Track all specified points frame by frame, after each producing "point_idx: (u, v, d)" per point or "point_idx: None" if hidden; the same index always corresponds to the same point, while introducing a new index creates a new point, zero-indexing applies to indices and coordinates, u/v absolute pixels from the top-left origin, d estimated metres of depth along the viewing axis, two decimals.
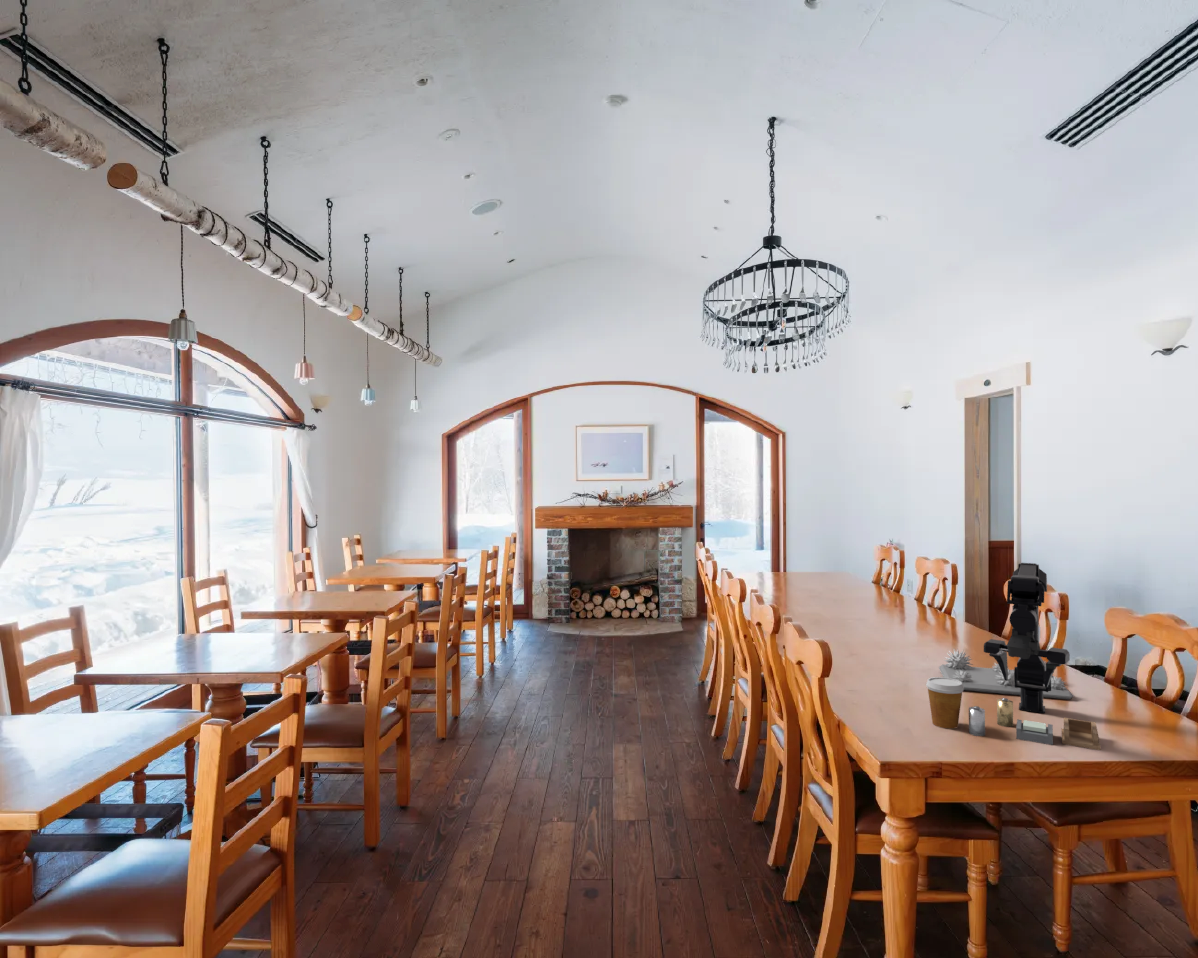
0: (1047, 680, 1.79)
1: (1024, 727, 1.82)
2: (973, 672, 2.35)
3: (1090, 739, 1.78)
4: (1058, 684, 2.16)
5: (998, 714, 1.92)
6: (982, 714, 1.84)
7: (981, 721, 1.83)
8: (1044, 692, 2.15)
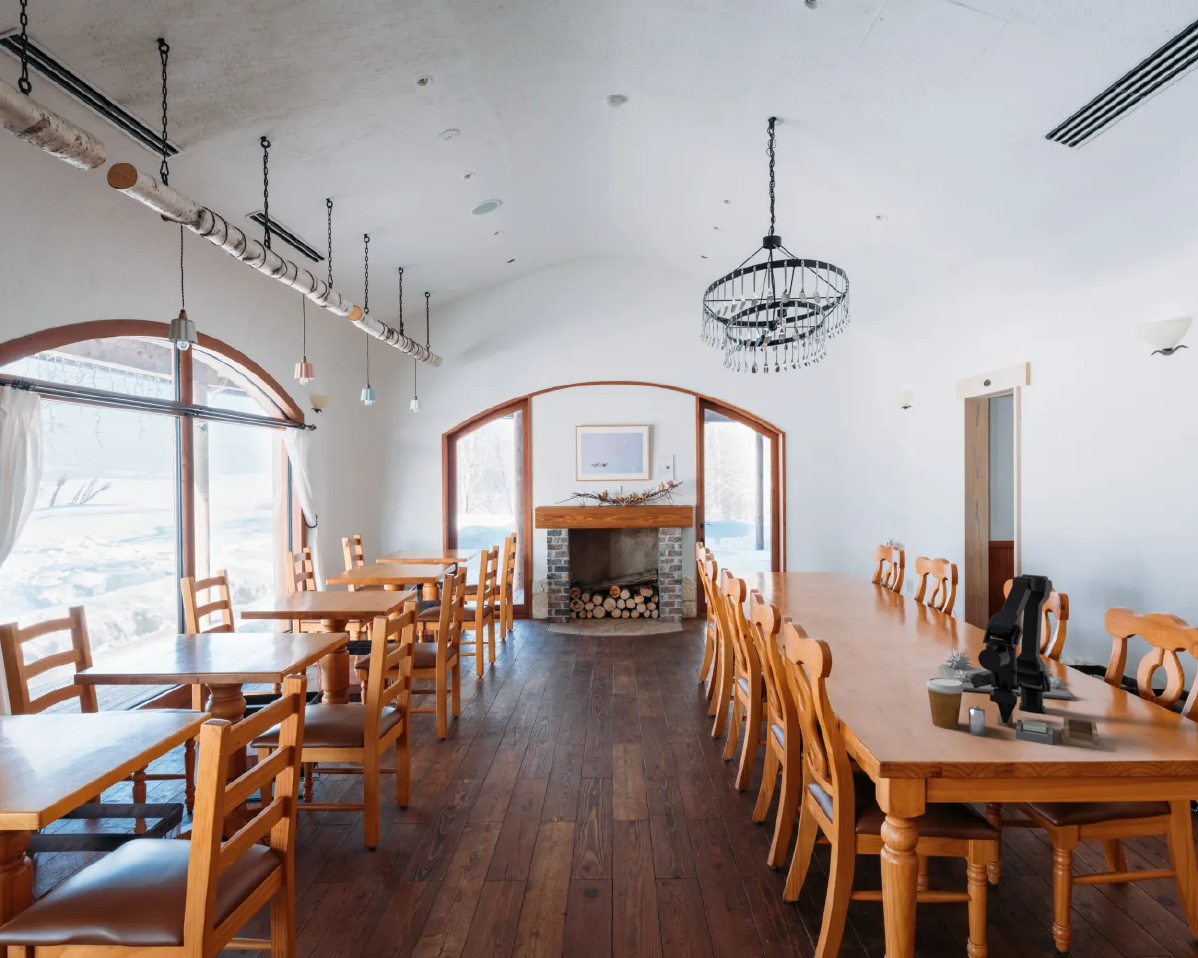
0: None
1: (1024, 727, 1.82)
2: (973, 672, 2.35)
3: (1090, 739, 1.78)
4: (1058, 684, 2.16)
5: (998, 714, 1.92)
6: (982, 714, 1.84)
7: (981, 721, 1.83)
8: None
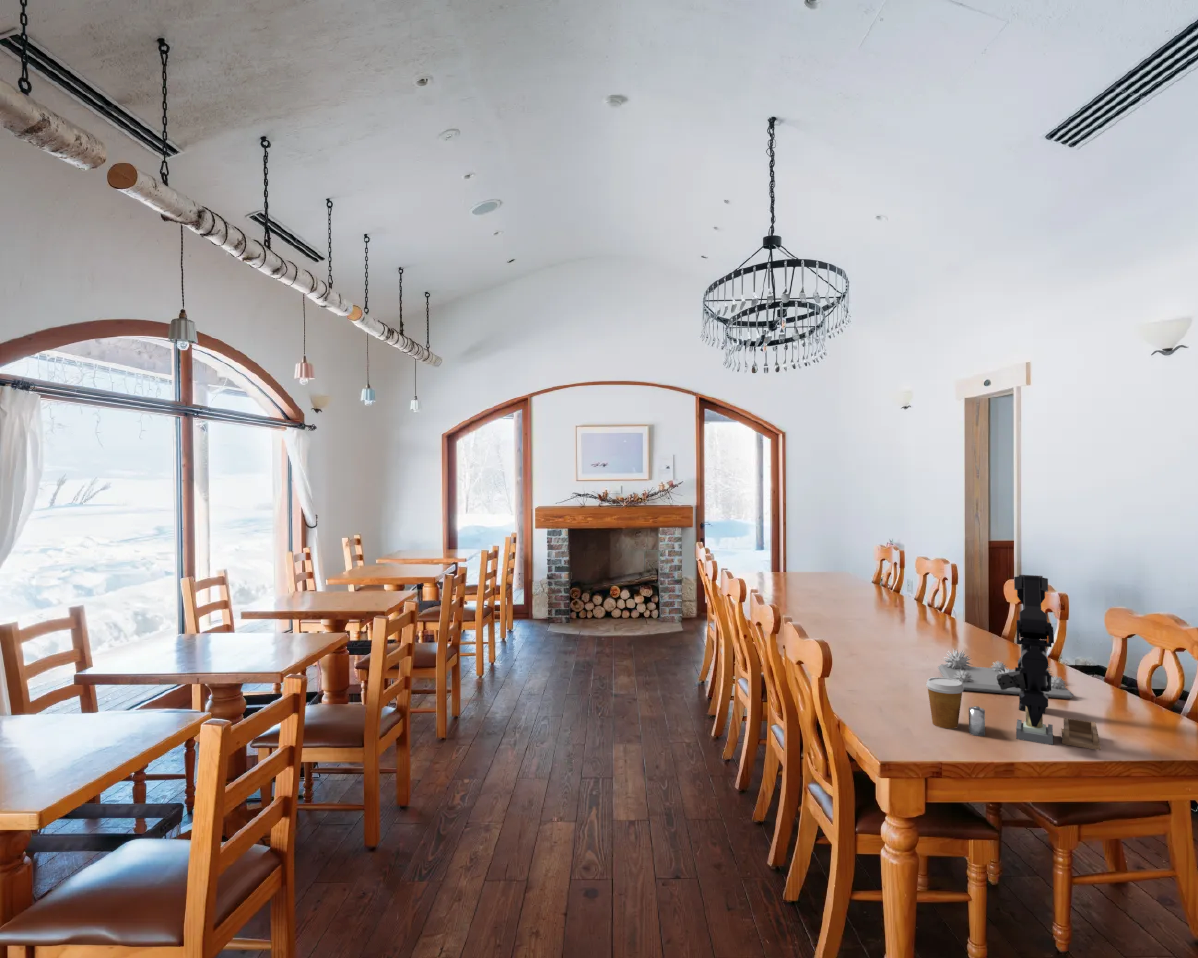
0: (1030, 718, 1.81)
1: (1024, 728, 1.82)
2: (973, 672, 2.36)
3: (1090, 739, 1.78)
4: (1058, 683, 2.16)
5: (1027, 715, 1.82)
6: (982, 714, 1.84)
7: (981, 721, 1.83)
8: (1044, 692, 2.15)
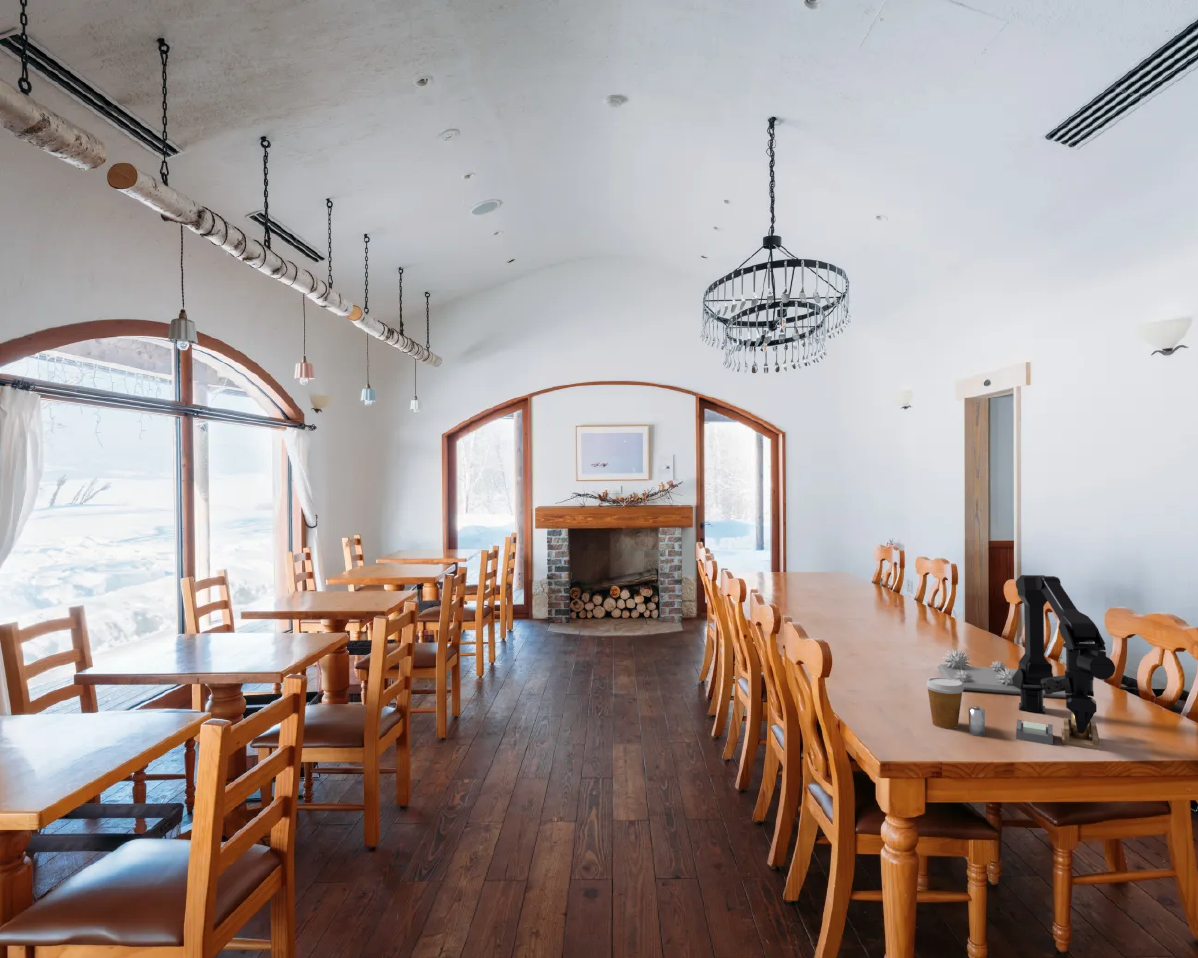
0: (1076, 725, 1.77)
1: (1024, 728, 1.82)
2: (972, 672, 2.36)
3: (1090, 739, 1.78)
4: None
5: (1073, 726, 1.79)
6: (982, 714, 1.84)
7: (981, 721, 1.83)
8: None
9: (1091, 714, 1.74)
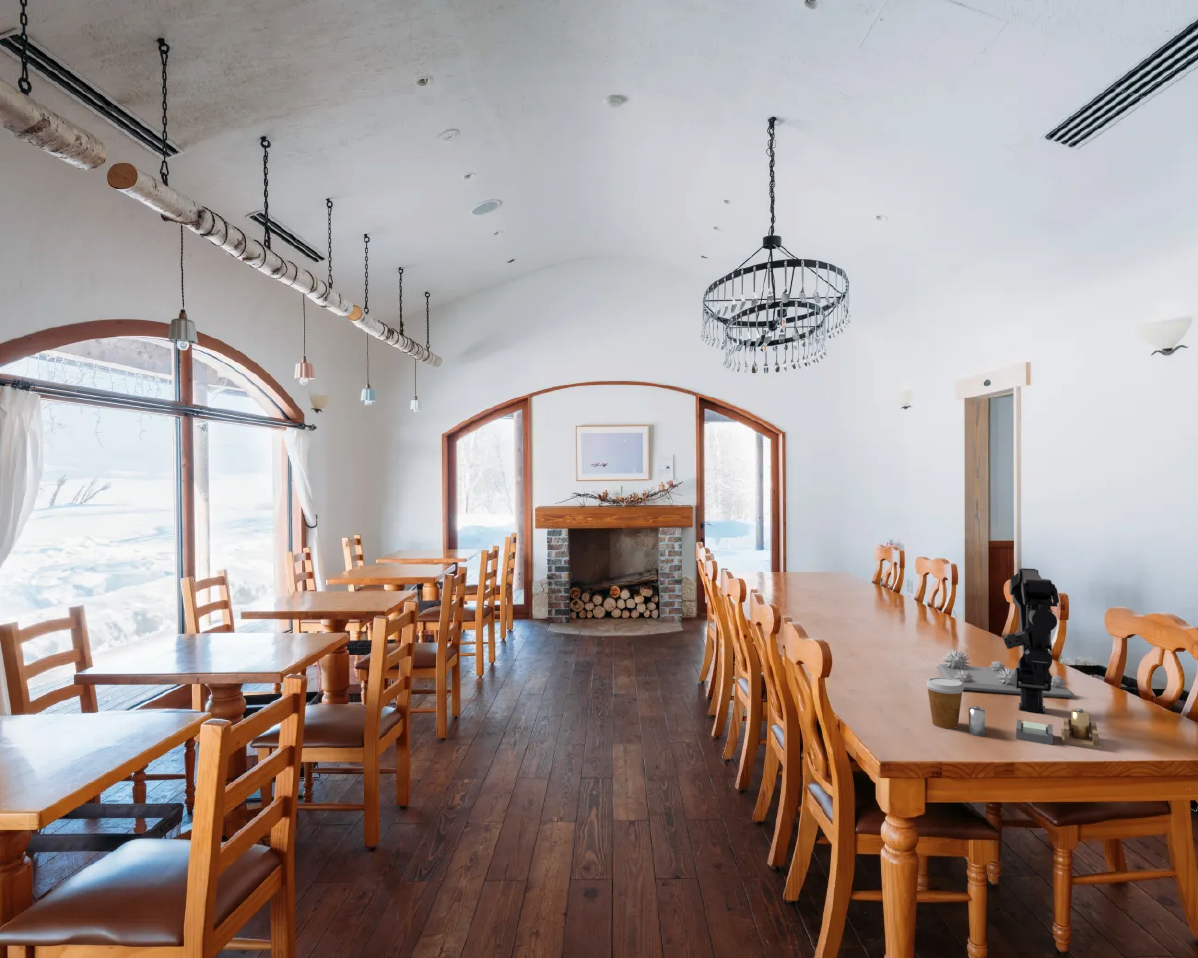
0: (1034, 677, 1.88)
1: (1024, 728, 1.82)
2: (972, 672, 2.36)
3: (1090, 739, 1.78)
4: (1058, 683, 2.17)
5: (1072, 726, 1.80)
6: (982, 714, 1.84)
7: (981, 721, 1.83)
8: (1045, 691, 2.16)
9: (1048, 666, 1.85)
